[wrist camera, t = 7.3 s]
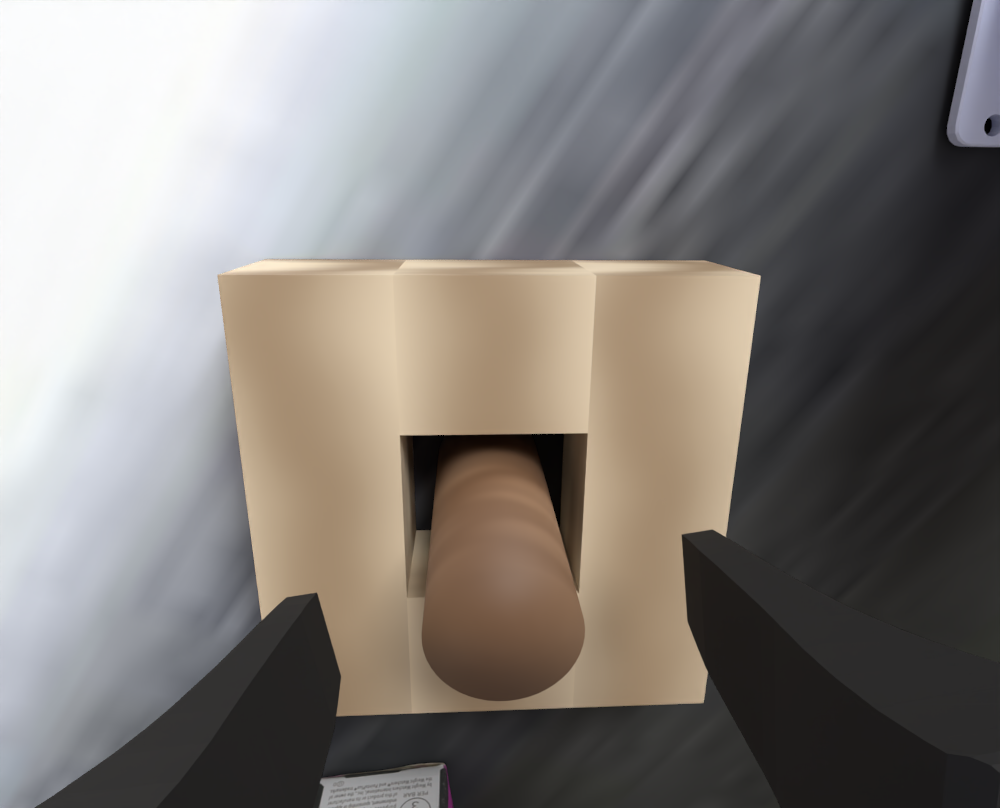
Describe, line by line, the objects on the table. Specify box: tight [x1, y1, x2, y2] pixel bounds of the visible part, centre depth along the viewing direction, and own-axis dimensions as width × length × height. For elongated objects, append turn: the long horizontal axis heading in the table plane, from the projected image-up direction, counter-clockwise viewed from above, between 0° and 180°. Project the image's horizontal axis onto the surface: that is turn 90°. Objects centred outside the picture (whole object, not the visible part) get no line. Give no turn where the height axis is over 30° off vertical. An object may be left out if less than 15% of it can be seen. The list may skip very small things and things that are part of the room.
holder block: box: [218, 259, 761, 716], centre depth 18 cm, size 12×12×4 cm
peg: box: [421, 434, 585, 701], centre depth 15 cm, size 3×3×8 cm
